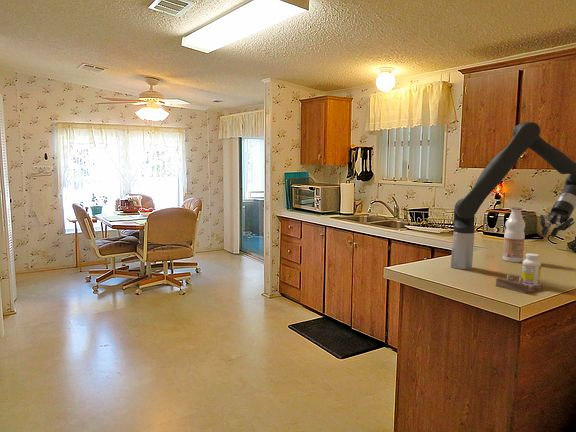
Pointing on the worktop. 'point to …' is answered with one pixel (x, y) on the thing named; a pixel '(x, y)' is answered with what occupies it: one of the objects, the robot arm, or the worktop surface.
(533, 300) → the worktop surface
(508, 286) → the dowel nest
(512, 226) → the fruit juice
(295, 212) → the worktop surface
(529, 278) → the supplement bottle
